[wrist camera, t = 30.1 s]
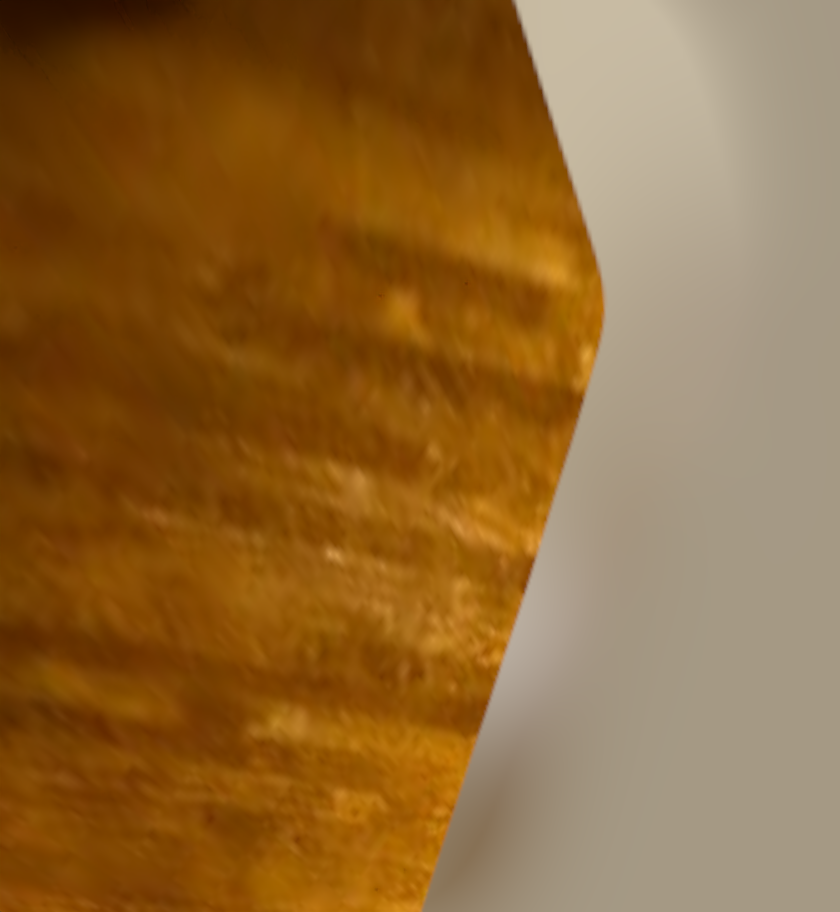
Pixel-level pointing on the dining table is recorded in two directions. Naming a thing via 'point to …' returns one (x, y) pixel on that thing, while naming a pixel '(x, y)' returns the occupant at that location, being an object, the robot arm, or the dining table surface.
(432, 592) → the dining table surface
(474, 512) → the dining table surface
